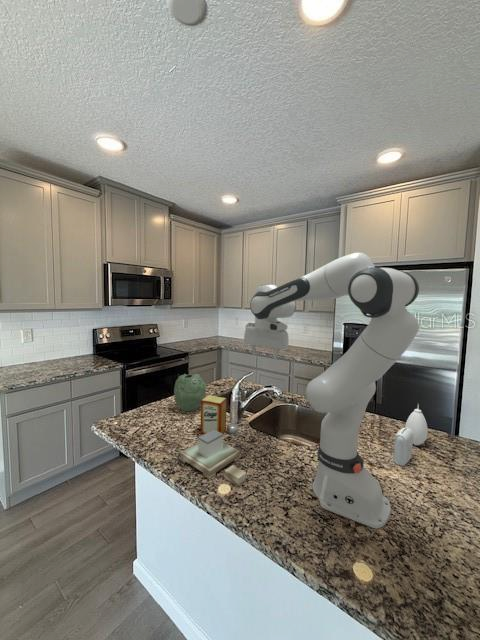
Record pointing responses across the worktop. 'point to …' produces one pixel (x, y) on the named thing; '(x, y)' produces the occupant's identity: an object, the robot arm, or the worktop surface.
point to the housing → (210, 443)
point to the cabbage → (189, 391)
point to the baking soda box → (213, 414)
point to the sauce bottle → (417, 426)
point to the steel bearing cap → (232, 428)
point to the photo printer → (403, 446)
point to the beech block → (235, 475)
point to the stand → (209, 459)
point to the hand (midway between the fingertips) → (264, 357)
